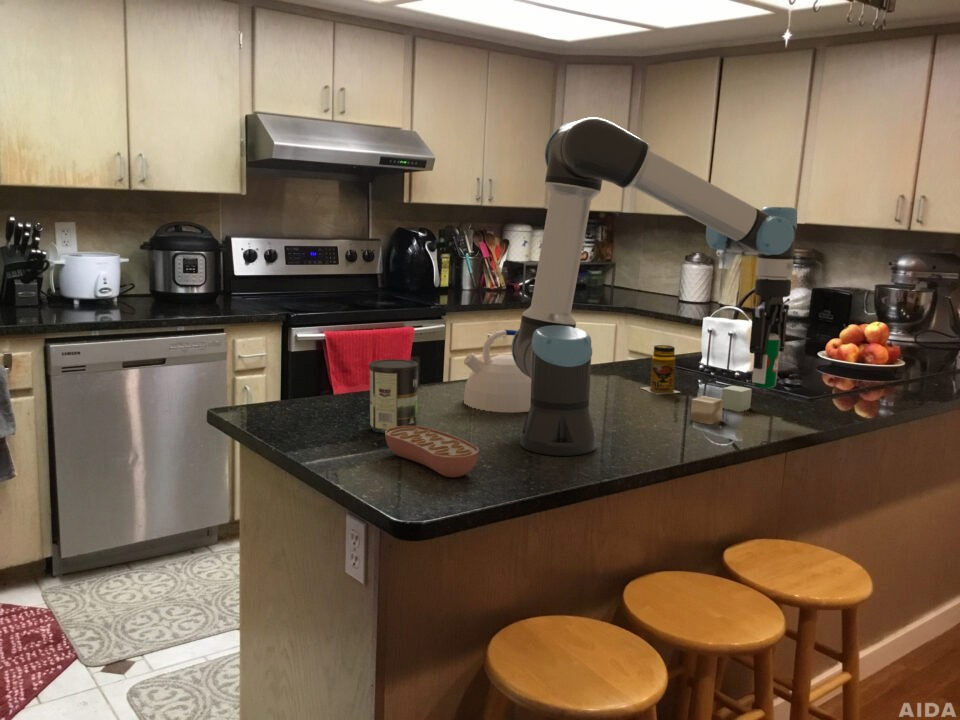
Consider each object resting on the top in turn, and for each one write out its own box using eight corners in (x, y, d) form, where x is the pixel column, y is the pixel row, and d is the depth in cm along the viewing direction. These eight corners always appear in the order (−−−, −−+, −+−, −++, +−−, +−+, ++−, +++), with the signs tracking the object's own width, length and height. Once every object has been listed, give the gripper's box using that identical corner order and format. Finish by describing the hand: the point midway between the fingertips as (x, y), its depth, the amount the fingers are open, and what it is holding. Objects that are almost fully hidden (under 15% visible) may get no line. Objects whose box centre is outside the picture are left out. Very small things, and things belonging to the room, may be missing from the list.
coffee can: (415, 421, 185) (415, 358, 182) (419, 434, 175) (420, 367, 172) (368, 422, 183) (368, 358, 181) (370, 435, 173) (369, 368, 171)
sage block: (740, 412, 199) (741, 391, 199) (721, 408, 203) (722, 388, 202) (750, 408, 203) (751, 388, 202) (731, 405, 206) (732, 385, 205)
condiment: (658, 395, 215) (661, 349, 213) (639, 388, 223) (641, 343, 221) (681, 393, 218) (684, 347, 216) (661, 386, 226) (664, 342, 224)
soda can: (777, 389, 187) (782, 336, 184) (753, 387, 188) (758, 334, 185) (774, 384, 192) (778, 332, 189) (750, 383, 192) (755, 331, 190)
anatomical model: (375, 455, 160) (375, 430, 160) (418, 446, 167) (418, 422, 166) (447, 488, 143) (447, 460, 142) (492, 477, 149) (492, 450, 148)
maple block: (710, 424, 187) (711, 403, 186) (690, 420, 191) (691, 399, 190) (721, 421, 191) (722, 399, 190) (701, 416, 194) (702, 395, 193)
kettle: (451, 396, 210) (452, 324, 207) (528, 391, 217) (531, 322, 213) (476, 415, 191) (477, 337, 188) (560, 410, 198) (563, 334, 194)
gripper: (771, 281, 176) (761, 389, 180) (807, 277, 189) (797, 378, 193) (738, 278, 181) (729, 383, 185) (775, 274, 194) (766, 373, 198)
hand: (764, 380), depth 189 cm, fingers closed on soda can, 5 cm apart
